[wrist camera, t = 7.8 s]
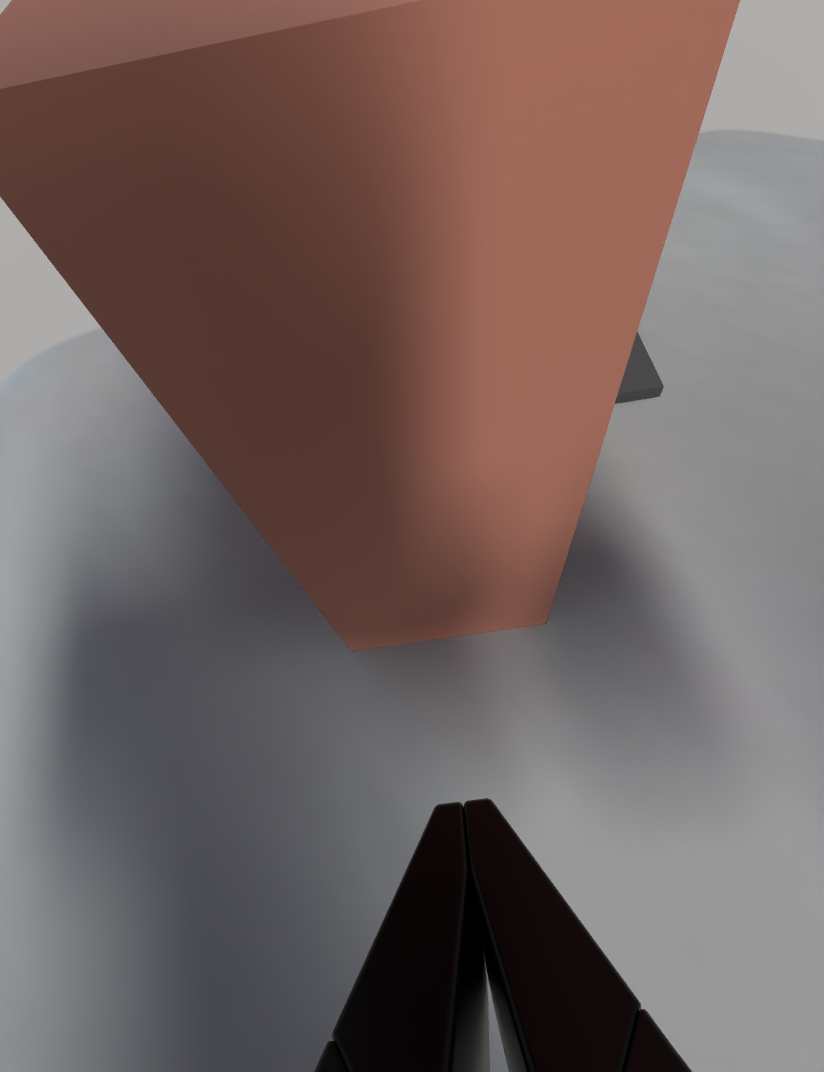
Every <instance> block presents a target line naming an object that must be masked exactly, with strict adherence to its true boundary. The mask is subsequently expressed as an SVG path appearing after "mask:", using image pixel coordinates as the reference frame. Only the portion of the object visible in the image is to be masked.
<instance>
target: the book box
mask: <svg viewBox="0 0 824 1072" xmlns="http://www.w3.org/2000/svg"><path fill="white" fill-rule="evenodd" d="M739 2H740V0H12V1H11V2H10V3H9V5H8V6H7V7H6V8H5V10H4V11H3V12H2V13H1V15H0V197H1V198H2V199H3V200H4V202H5V203H6V204H7V206H8V207H9V208H10V210H11V211H12V212H13V214H14V215H15V216H16V217H17V219H18V220H19V221H20V223H21V224H22V225H23V226H24V228H25V229H26V230H27V232H28V233H29V234H30V236H31V237H32V238H33V239H34V241H35V242H36V243H37V244H38V246H39V247H40V249H41V250H42V251H43V252H44V254H45V255H46V256H47V258H48V259H49V260H50V261H51V263H52V264H53V265H54V266H55V268H56V269H57V271H58V272H59V273H60V274H61V276H62V277H63V278H64V279H65V281H66V282H67V283H68V285H69V286H70V287H71V289H72V290H73V291H74V293H75V294H76V295H77V296H78V298H79V299H80V300H81V302H82V303H83V304H84V305H85V307H86V308H87V309H88V311H89V312H90V313H91V315H92V316H93V317H94V318H95V320H96V321H97V322H98V324H99V325H100V326H101V327H102V329H103V330H104V331H105V333H106V334H107V335H108V337H109V338H110V339H111V340H112V342H113V343H114V344H115V346H116V347H117V348H118V349H119V351H120V352H121V353H122V355H123V356H124V357H125V359H126V360H127V361H128V362H129V364H130V365H131V366H132V368H133V369H134V370H135V371H136V373H137V374H138V375H139V377H140V378H141V379H142V381H143V382H144V383H145V384H146V386H147V387H148V388H149V390H150V391H151V392H152V393H153V395H154V396H155V397H156V399H157V400H158V401H159V403H160V404H161V405H162V406H163V408H164V409H165V410H166V412H167V413H168V414H169V415H170V417H171V418H172V419H173V421H174V422H175V423H176V425H177V426H178V427H179V428H180V430H181V431H182V432H183V434H184V435H185V436H186V437H187V439H188V440H189V441H190V443H191V444H192V445H193V447H194V448H195V449H196V450H197V452H198V453H199V454H200V456H201V457H202V458H203V459H204V461H205V462H206V463H207V465H208V466H209V467H210V469H211V470H212V471H213V472H214V474H215V475H216V476H217V478H218V479H219V480H220V481H221V483H222V484H223V485H224V487H225V488H226V489H227V491H228V492H229V493H230V494H231V496H232V497H233V498H234V500H235V501H236V502H237V503H238V505H239V506H240V507H241V509H242V510H243V511H244V513H245V514H246V515H247V516H248V518H249V519H250V520H251V522H252V523H253V524H254V525H255V527H256V528H257V529H258V531H259V532H260V533H261V535H262V536H263V537H264V538H265V540H266V541H267V542H268V544H269V545H270V546H271V547H272V549H273V550H274V551H275V553H276V554H277V555H278V557H279V558H280V559H281V560H282V562H283V563H284V564H285V566H286V567H287V568H288V569H289V571H290V572H291V573H292V575H293V576H294V577H295V579H296V580H297V581H298V582H299V584H300V585H301V586H302V588H303V589H304V590H305V591H306V593H307V594H308V595H309V597H310V598H311V599H312V601H313V602H314V603H315V604H316V606H317V607H318V608H319V610H320V611H321V612H322V613H323V615H324V616H325V617H326V619H327V620H328V621H329V623H330V624H331V625H332V626H333V628H334V629H335V630H336V632H337V633H338V634H339V635H340V637H341V638H342V639H343V641H344V642H345V643H346V645H347V646H348V647H349V648H350V650H351V651H357V650H364V649H371V648H378V647H385V646H392V645H399V644H406V643H413V642H420V641H427V640H434V639H441V638H448V637H455V636H462V635H469V634H476V633H483V632H490V631H497V630H505V629H512V628H519V627H526V626H533V625H540V624H546V623H547V620H548V616H549V613H550V610H551V607H552V604H553V600H554V597H555V594H556V591H557V588H558V584H559V581H560V578H561V575H562V571H563V568H564V565H565V562H566V559H567V555H568V552H569V549H570V546H571V542H572V539H573V536H574V533H575V530H576V526H577V523H578V520H579V517H580V513H581V510H582V507H583V504H584V501H585V497H586V494H587V491H588V488H589V485H590V481H591V478H592V475H593V472H594V468H595V465H596V462H597V459H598V456H599V452H600V449H601V446H602V443H603V439H604V436H605V433H606V430H607V427H608V423H609V420H610V417H611V414H612V410H613V407H614V404H615V401H616V398H617V394H618V391H619V388H620V385H621V382H622V378H623V375H624V372H625V369H626V365H627V362H628V359H629V356H630V353H631V349H632V346H633V343H634V340H635V336H636V333H637V330H638V327H639V324H640V320H641V317H642V314H643V311H644V308H645V304H646V301H647V298H648V295H649V291H650V288H651V285H652V282H653V279H654V275H655V272H656V269H657V266H658V262H659V259H660V256H661V253H662V250H663V246H664V243H665V240H666V237H667V233H668V230H669V227H670V224H671V221H672V217H673V214H674V211H675V208H676V205H677V201H678V198H679V195H680V192H681V188H682V185H683V182H684V179H685V176H686V172H687V169H688V166H689V163H690V159H691V156H692V153H693V150H694V147H695V143H696V140H697V137H698V134H699V130H700V127H701V124H702V121H703V118H704V114H705V111H706V108H707V105H708V102H709V98H710V95H711V92H712V89H713V85H714V82H715V79H716V76H717V73H718V69H719V66H720V63H721V60H722V56H723V53H724V50H725V47H726V44H727V40H728V37H729V34H730V30H731V27H732V24H733V21H734V18H735V14H736V11H737V8H738V5H739Z"/></svg>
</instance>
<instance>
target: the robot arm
mask: <svg viewBox="0 0 824 1072" xmlns="http://www.w3.org/2000/svg"><path fill="white" fill-rule="evenodd" d="M484 956H485V957H484ZM485 962H486V966H485ZM486 968H487V974H488V980H489V985H490V990H491V995H492V1000H493V1004H494V1009H495V1013H496V1017H497V1022H498V1026H499V1030H500V1035H501V1039H502V1043H503V1048H504V1052H505V1056H506V1060H507V1065H508V1069H509V1072H692V1071H691V1069H690V1068H689V1067H688V1066H687V1064H686V1063H685V1062H684V1060H683V1059H682V1058H681V1056H680V1055H679V1054H678V1053H677V1051H676V1050H675V1049H674V1047H673V1046H672V1045H671V1043H670V1042H669V1041H668V1039H667V1038H666V1037H665V1035H664V1034H663V1033H662V1031H661V1030H660V1028H659V1027H658V1026H657V1024H656V1023H655V1022H654V1020H653V1019H652V1018H651V1016H650V1015H649V1013H648V1012H647V1011H646V1010H645V1009H641V1004H640V1002H639V1000H638V999H637V998H636V996H635V995H634V994H633V992H632V991H631V989H630V988H629V987H628V985H627V984H626V983H625V981H624V980H623V979H622V977H621V976H620V974H619V973H618V972H617V970H616V969H615V968H614V966H613V965H612V964H611V962H610V961H609V959H608V958H607V957H606V955H605V954H604V953H603V951H602V950H601V949H600V947H599V946H598V944H597V943H596V942H595V940H594V939H593V938H592V936H591V935H590V934H589V932H588V931H587V929H586V928H585V927H584V925H583V924H582V923H581V921H580V920H579V919H578V917H577V916H576V914H575V913H574V912H573V910H572V909H571V908H570V906H569V905H568V904H567V902H566V901H565V899H564V898H563V897H562V895H561V894H560V893H559V891H558V890H557V889H556V887H555V886H554V884H553V883H552V882H551V880H550V879H549V878H548V876H547V875H546V874H545V872H544V871H543V869H542V868H541V867H540V865H539V864H538V863H537V861H536V860H535V859H534V857H533V856H532V854H531V853H530V852H529V850H528V849H527V848H526V846H525V845H524V844H523V842H522V841H521V839H520V838H519V837H518V835H517V834H516V833H515V831H514V830H513V829H512V827H511V826H510V824H509V823H508V822H507V820H506V819H505V818H504V816H503V815H502V814H501V812H500V811H499V809H498V808H497V807H496V805H495V804H494V803H493V802H492V801H491V800H490V799H487V798H486V799H478V800H470V801H466V802H465V804H464V807H463V805H462V803H460V802H454V803H446V804H439V805H437V806H436V807H435V808H434V810H433V812H432V814H431V817H430V819H429V821H428V823H427V825H426V828H425V830H424V832H423V834H422V836H421V839H420V841H419V843H418V845H417V847H416V850H415V852H414V854H413V856H412V858H411V861H410V863H409V865H408V867H407V869H406V872H405V874H404V876H403V878H402V880H401V883H400V885H399V887H398V889H397V891H396V894H395V896H394V898H393V900H392V902H391V905H390V907H389V909H388V911H387V913H386V916H385V918H384V920H383V922H382V924H381V927H380V929H379V931H378V933H377V936H376V938H375V940H374V942H373V944H372V947H371V949H370V951H369V953H368V955H367V958H366V960H365V962H364V964H363V966H362V969H361V971H360V973H359V975H358V977H357V980H356V982H355V984H354V986H353V988H352V991H351V993H350V995H349V997H348V999H347V1002H346V1004H345V1006H344V1008H343V1010H342V1013H341V1015H340V1017H339V1019H338V1021H337V1024H336V1026H335V1028H334V1030H333V1032H332V1040H333V1041H329V1042H328V1043H327V1045H326V1047H325V1049H324V1051H323V1054H322V1056H321V1058H320V1060H319V1062H318V1065H317V1067H316V1069H315V1071H314V1072H490V1057H489V1019H488V991H487V976H486Z"/></svg>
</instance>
